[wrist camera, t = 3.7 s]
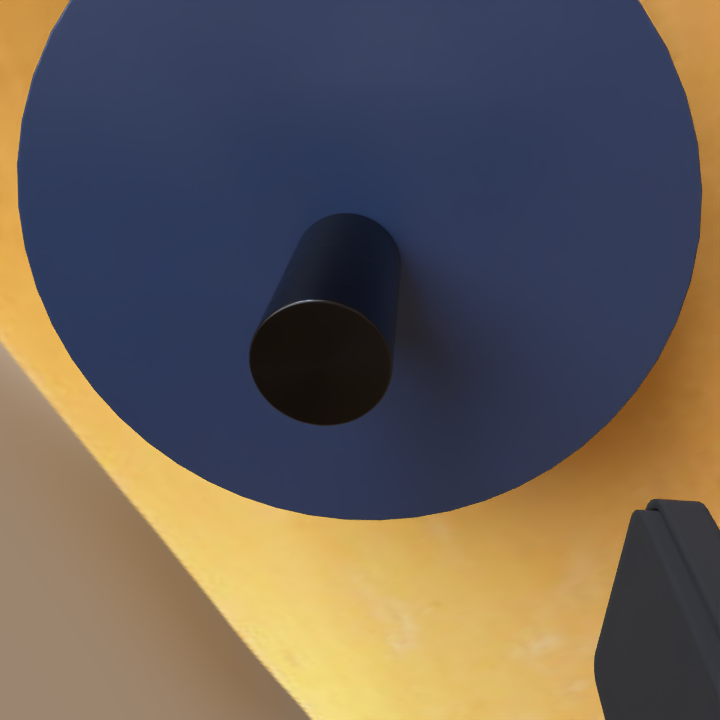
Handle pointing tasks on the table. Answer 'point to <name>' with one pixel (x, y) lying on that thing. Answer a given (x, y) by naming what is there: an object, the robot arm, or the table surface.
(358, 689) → the table surface
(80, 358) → the tin lid
